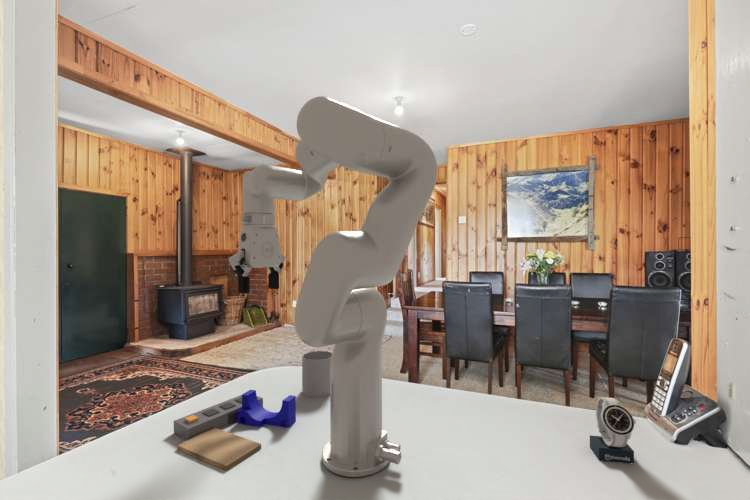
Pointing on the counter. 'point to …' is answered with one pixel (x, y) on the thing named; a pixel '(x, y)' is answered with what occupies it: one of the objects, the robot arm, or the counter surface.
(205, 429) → the power strip
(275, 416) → the cable clip
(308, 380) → the cup
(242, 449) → the wooden board
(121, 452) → the counter surface
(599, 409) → the watch
